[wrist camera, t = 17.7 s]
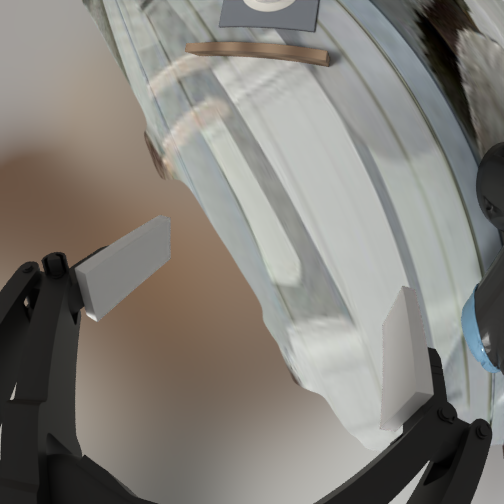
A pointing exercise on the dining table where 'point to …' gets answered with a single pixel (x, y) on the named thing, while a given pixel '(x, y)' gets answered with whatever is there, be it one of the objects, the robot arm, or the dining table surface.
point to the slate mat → (270, 14)
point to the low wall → (260, 51)
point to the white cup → (267, 1)
